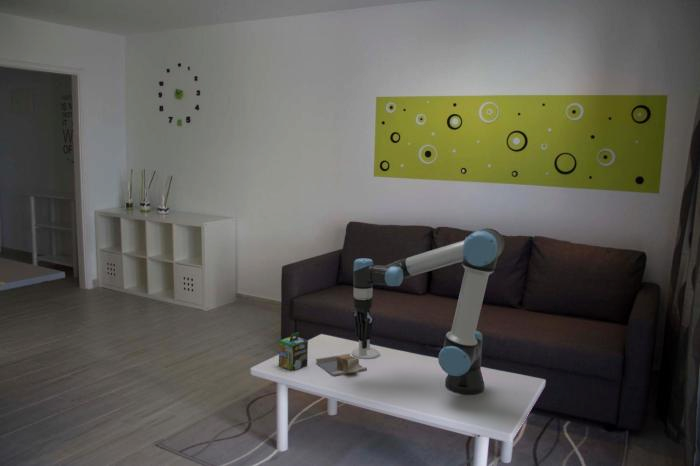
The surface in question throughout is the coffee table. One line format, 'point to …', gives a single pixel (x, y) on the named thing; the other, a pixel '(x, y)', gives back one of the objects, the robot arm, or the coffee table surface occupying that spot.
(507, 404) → the coffee table surface
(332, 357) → the grey flat square piece
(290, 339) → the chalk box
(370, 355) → the candlestick
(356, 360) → the block
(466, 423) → the coffee table surface
